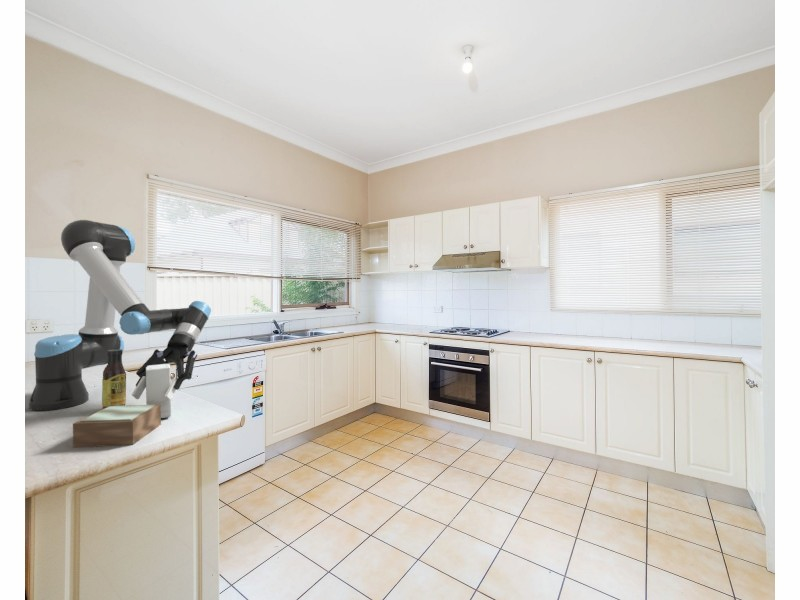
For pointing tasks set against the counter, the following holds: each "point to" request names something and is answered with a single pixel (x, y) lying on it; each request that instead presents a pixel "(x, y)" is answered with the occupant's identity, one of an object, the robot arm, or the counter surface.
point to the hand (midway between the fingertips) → (151, 397)
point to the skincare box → (158, 387)
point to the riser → (116, 425)
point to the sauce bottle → (114, 380)
